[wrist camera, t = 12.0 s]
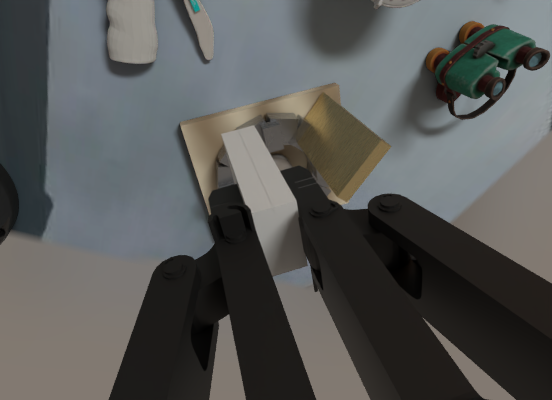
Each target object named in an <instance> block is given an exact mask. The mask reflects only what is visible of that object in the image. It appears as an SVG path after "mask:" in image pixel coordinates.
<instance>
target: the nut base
mask: <svg viewBox="0 0 552 400" xmlns="http://www.w3.org/2000/svg"><path fill="white" fill-rule="evenodd" d="M323 92H324V93H325V94H327V95H328V96H330V97H331V98H332V99H334V100H335V101H336V102H337V103H339V104H340V105H341V103H340V91H339V85H338V84H336V83H332V84H328V85H324V86H320V87H316V88H312V89H309V90H305V91H301V92H297V93H293V94H289V95H285V96H281V97H277V98H273V99H269V100H265V101H261V102H258V103H254V104H250V105H246V106H242V107H238V108H234V109H230V110H226V111H222V112H218V113H214V114H211V115H207V116H203V117H199V118H195V119H191V120H187V121H183V122H180V126H181V129H182V132H183V135H184V138H185V141H186V145H187V148H188V151H189V154H190V157H191V160H192V163H193V166H194V169H195V172H196V175H197V178H198V181H199V184H200V187H201V190H202V193H203V197H204V200H205V203H206V206H207V209H208V212H209V215H211V211H210V205H209V200H208V198H209V196H210V194H211V192H212V190H216V189H217V186H216V160H219V158H218V153H219V151H220V150H221V148H222V147H223V145H224V143H223V139H222V135H221V134H223V133H226V132H230V131H234V130H237V129H236V128H237V127H239V126H240V125H242V124H244V123H246V122H248V121H249V120H251V119H253V118H255V117H257V116H258V115H260V114H261V115H262V117H263V119H264V120H265V122H266V113H294V114H295V115H296V117H297V115H298V114H299V115H300V116H302V117H304V118H305V117H306V116H307V114H308V113H309V111H310V110H311V109H312V107H313V106H314V104H315V103H316V101H317V100H318V98H319V97H320V95H321V94H322V93H323ZM283 146H284V149H282V150H278V151H275V152H271V153H270V154H271V156H272V158H273V160H274V162H275V163H276V165H277V167H278V169H279V171H281V170H285V169H288V168H292V167H295V166H301V167H303V168H306V169H307V162H308V160H307V158H306V156H305V154H304V152H303V151H301V150H299V149H298V148H296V147H294V146H292V145H283ZM329 188H330V187H329ZM330 190H331V192H330V193H329V195H328V196H327V197H328V199H329V200H332V201H335V202H337V203H339V204H340V205H342V204H345V203H349V201H348V202H345V201H343V200H342V199H340V198H338V197H337V196H336V195H335V194H334V192H333V191H332V189H331V188H330Z"/></svg>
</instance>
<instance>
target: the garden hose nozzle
mask: <svg viewBox="0 0 552 400" xmlns="http://www.w3.org/2000/svg"><path fill="white" fill-rule="evenodd" d="M183 1H184V4H185V6H186V9H187V12H188V14H189V17H190V19H191V21H192V24H193V26H194V29H195V31H196V34H197V38H198V42H199V45H200V47H201V50H202V52H203V55H204V57H205V58H206V60H212V58H213V43H214V31H213V27H212V24H211V21H210V19H209V17H208V15H207V13H206V11H205V9H204V7H203V6H202V4H201V2H200V0H183ZM106 11H107V16H108V18H109V21H110V27H109V29H108V33H107V47H108V51H109V56H110V59H112V60H115V61H119V62H125V63H136V64H146V63H152V62H154V61H155V60H156V53H157V49H158V37H157V31H156V27H155V8H154V0H108V3H107V7H106Z"/></svg>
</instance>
